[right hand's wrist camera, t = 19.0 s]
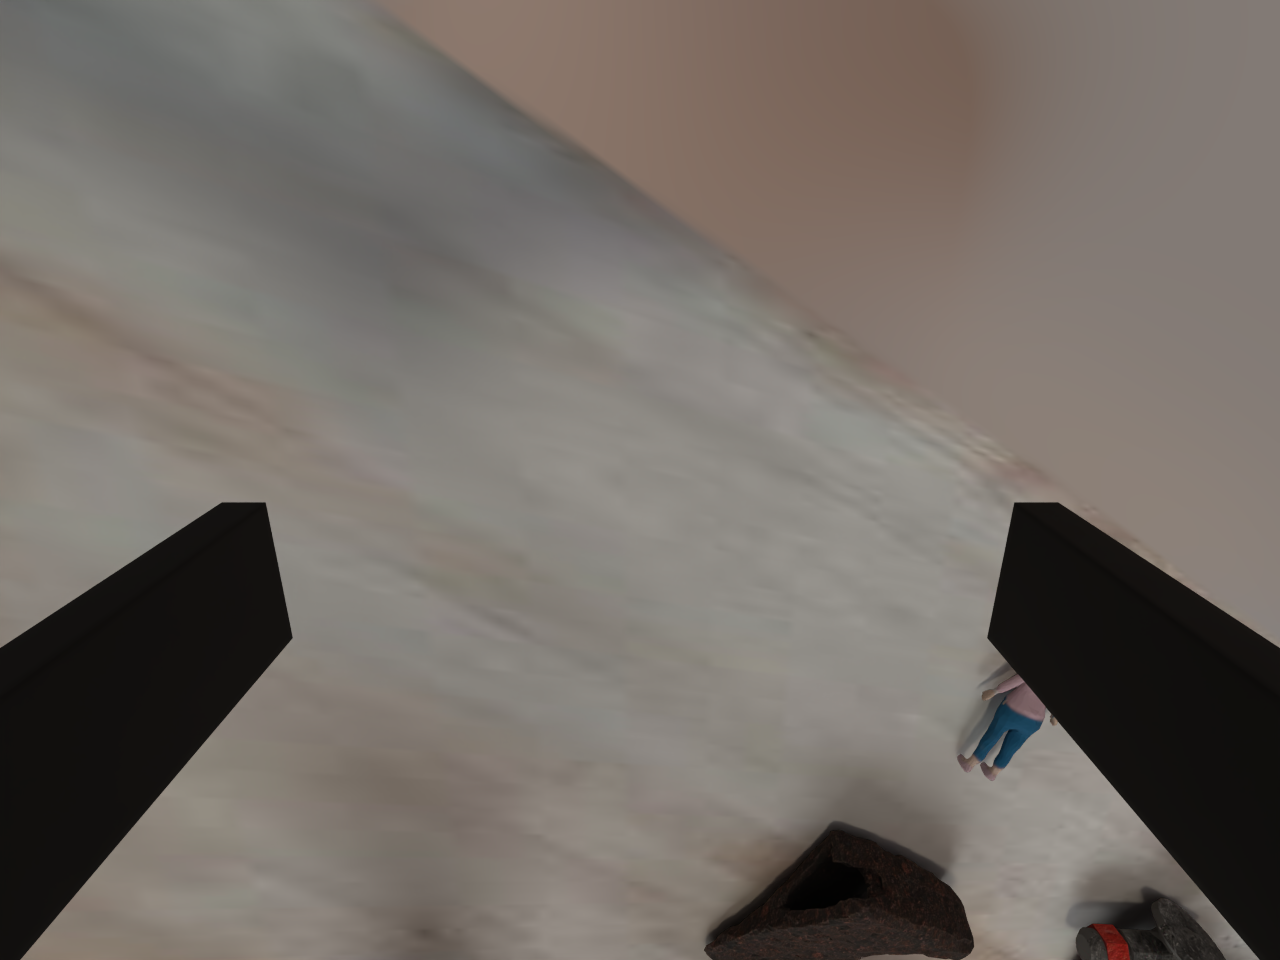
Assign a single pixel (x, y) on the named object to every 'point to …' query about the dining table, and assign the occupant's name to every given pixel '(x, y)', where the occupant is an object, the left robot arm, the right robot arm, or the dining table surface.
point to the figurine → (1008, 725)
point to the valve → (1150, 939)
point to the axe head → (851, 910)
